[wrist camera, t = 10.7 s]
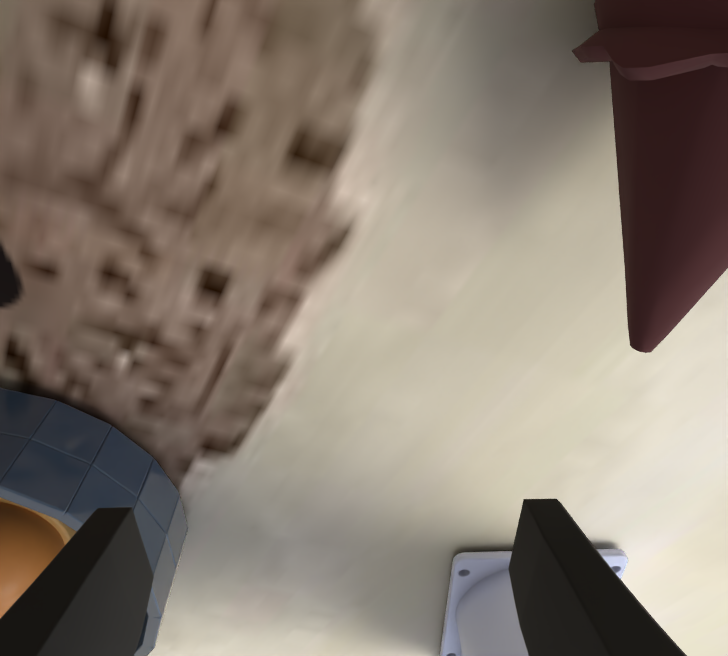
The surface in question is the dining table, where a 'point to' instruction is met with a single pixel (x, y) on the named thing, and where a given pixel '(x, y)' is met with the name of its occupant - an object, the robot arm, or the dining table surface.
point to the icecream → (667, 151)
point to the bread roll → (26, 548)
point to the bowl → (91, 483)
